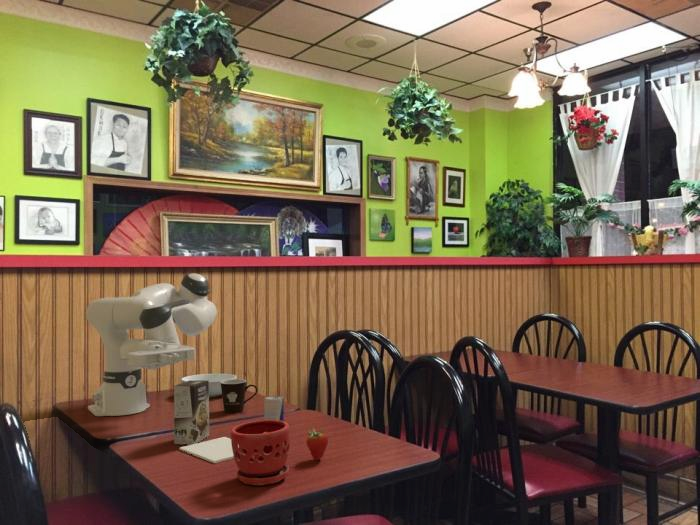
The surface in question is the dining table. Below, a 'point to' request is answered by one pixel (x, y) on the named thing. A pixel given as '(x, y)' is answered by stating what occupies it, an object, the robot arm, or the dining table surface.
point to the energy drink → (274, 408)
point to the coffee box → (191, 412)
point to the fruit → (317, 444)
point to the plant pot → (261, 451)
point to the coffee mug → (234, 395)
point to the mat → (211, 450)
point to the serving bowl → (211, 381)
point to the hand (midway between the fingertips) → (174, 358)
